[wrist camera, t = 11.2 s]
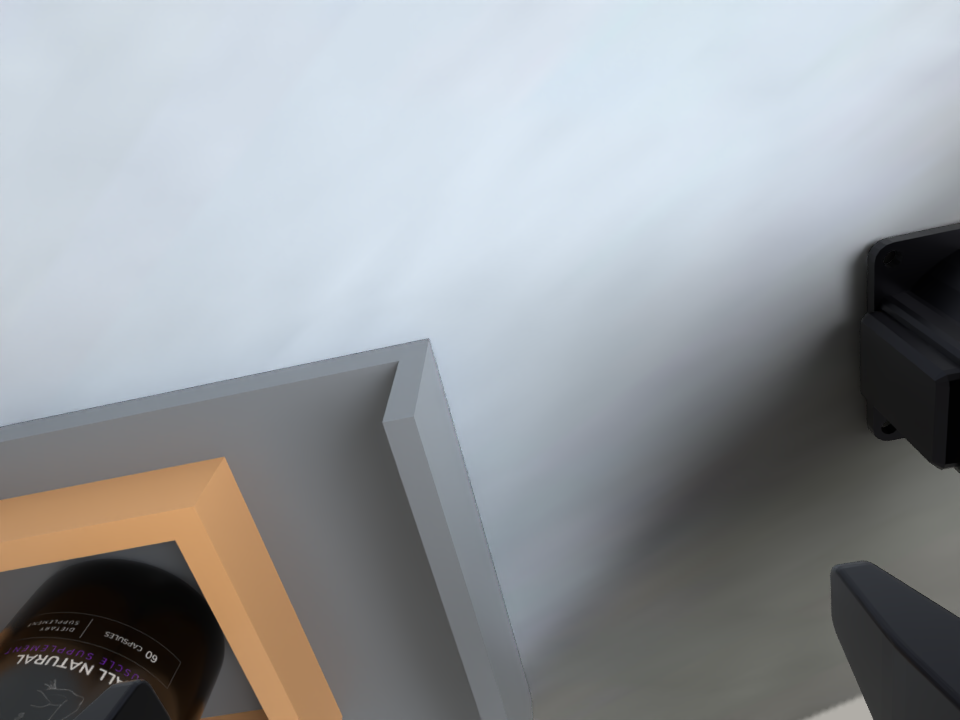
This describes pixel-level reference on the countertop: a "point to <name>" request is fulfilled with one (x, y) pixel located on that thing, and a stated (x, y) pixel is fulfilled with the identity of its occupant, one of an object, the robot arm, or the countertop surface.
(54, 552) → the housing
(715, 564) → the countertop surface
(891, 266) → the robot arm
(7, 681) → the supplement bottle
